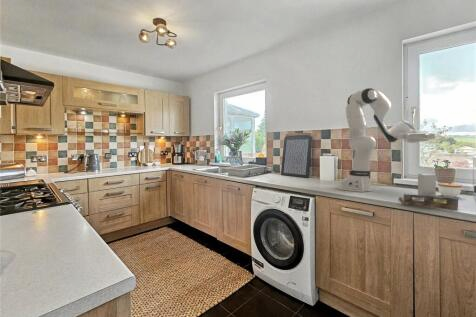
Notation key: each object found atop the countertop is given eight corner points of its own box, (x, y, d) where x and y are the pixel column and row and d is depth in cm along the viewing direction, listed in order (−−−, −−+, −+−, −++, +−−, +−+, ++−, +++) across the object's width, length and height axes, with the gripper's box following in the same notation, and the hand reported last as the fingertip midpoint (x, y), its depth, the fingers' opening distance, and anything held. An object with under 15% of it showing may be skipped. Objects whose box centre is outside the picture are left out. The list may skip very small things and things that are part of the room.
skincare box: (436, 202, 120) (437, 175, 119) (422, 201, 122) (423, 174, 121) (429, 199, 128) (430, 173, 127) (416, 198, 130) (417, 172, 129)
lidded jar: (437, 193, 149) (437, 179, 148) (459, 196, 142) (460, 181, 141) (438, 196, 141) (438, 181, 140) (462, 199, 134) (462, 183, 133)
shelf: (404, 204, 122) (404, 194, 122) (399, 198, 135) (399, 189, 135) (458, 209, 112) (458, 198, 112) (447, 203, 125) (447, 193, 125)
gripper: (395, 132, 163) (398, 131, 151) (431, 131, 153) (438, 130, 141) (395, 141, 163) (398, 140, 151) (431, 140, 154) (437, 140, 142)
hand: (417, 135), depth 146 cm, fingers open, 8 cm apart
